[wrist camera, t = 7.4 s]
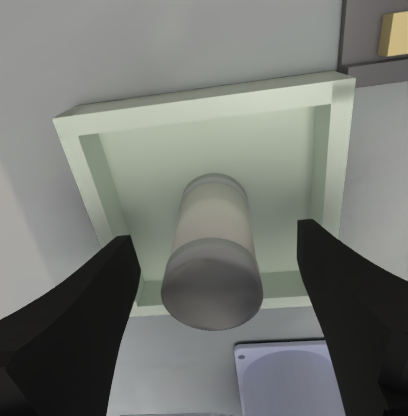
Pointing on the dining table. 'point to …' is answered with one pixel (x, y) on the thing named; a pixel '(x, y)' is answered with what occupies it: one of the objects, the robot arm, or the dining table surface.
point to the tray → (215, 168)
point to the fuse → (213, 257)
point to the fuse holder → (374, 41)
